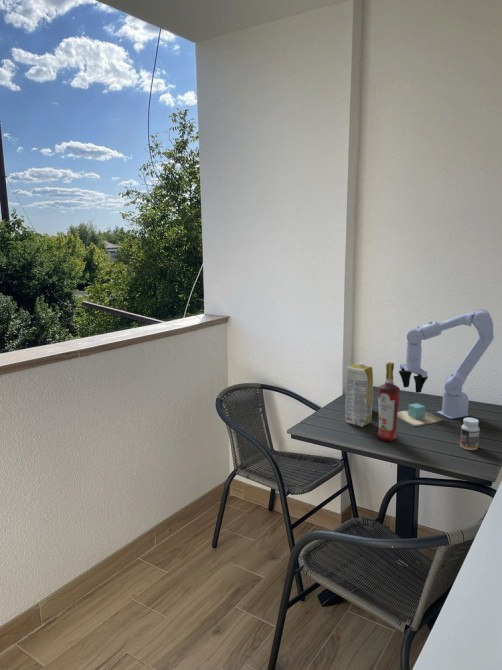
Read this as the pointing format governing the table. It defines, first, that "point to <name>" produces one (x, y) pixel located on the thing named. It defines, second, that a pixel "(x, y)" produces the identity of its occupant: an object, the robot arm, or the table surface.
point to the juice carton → (358, 394)
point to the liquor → (388, 406)
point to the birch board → (417, 422)
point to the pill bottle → (470, 434)
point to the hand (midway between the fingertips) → (412, 389)
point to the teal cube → (416, 411)
